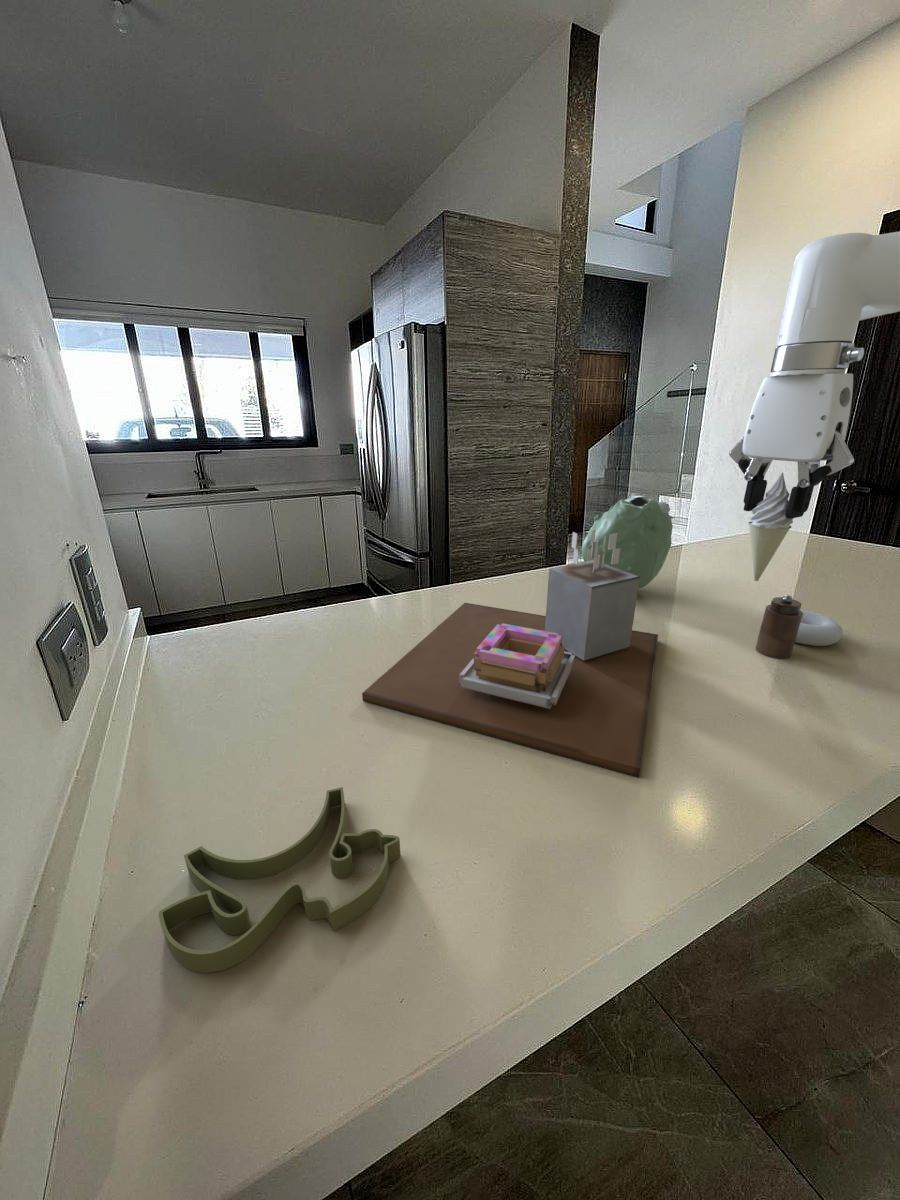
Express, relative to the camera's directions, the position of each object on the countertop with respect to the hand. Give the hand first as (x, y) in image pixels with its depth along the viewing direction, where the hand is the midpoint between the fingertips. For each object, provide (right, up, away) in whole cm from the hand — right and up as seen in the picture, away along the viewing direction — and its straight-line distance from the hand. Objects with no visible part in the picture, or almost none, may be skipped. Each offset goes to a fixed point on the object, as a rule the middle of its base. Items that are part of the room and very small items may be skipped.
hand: (772, 512), depth 64 cm
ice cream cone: (0, -9, +4) cm, 10 cm away
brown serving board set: (-32, -22, +8) cm, 40 cm away
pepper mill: (+8, -20, +12) cm, 25 cm away
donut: (+17, -18, +17) cm, 30 cm away
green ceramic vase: (-7, -10, +38) cm, 40 cm away
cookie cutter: (-57, -36, -24) cm, 71 cm away
